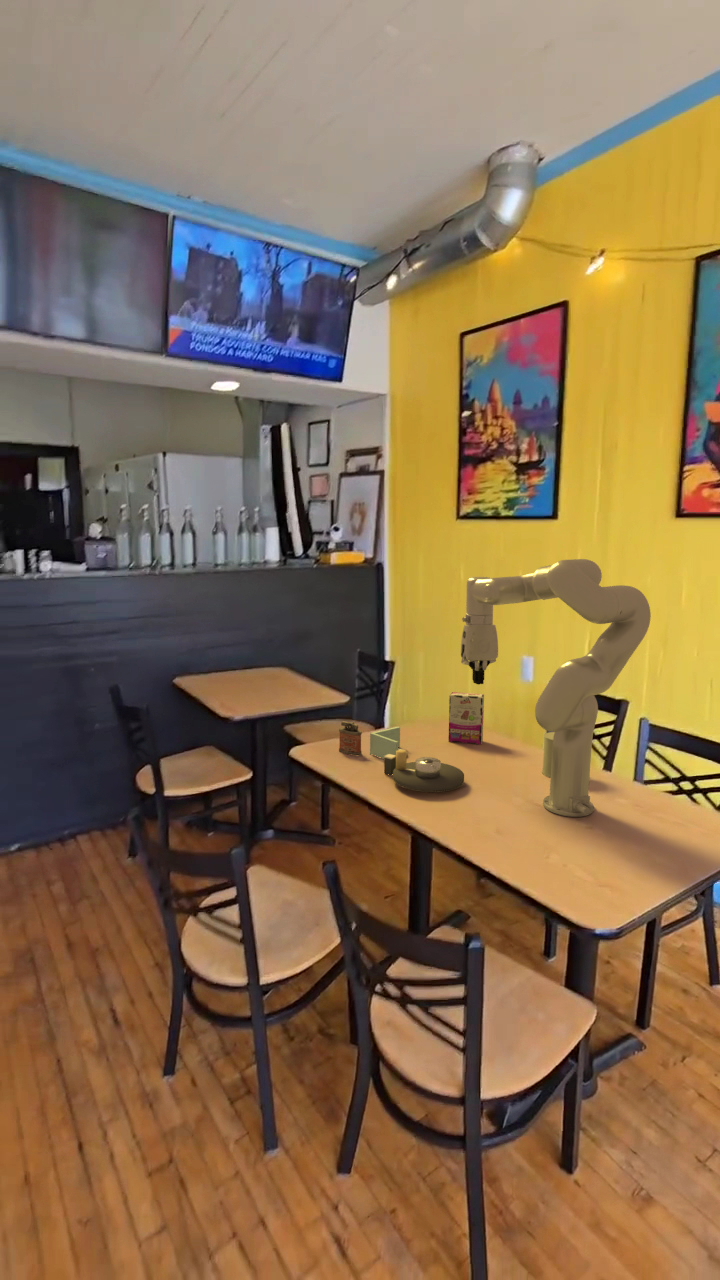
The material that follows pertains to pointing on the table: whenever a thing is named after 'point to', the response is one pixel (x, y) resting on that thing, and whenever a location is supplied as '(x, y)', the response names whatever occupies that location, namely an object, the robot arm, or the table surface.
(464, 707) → the candy bar box
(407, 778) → the turntable
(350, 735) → the lighter
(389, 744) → the l-shaped corner panel
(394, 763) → the post
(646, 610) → the robot arm
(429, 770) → the cover
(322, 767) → the table surface
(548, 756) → the can
